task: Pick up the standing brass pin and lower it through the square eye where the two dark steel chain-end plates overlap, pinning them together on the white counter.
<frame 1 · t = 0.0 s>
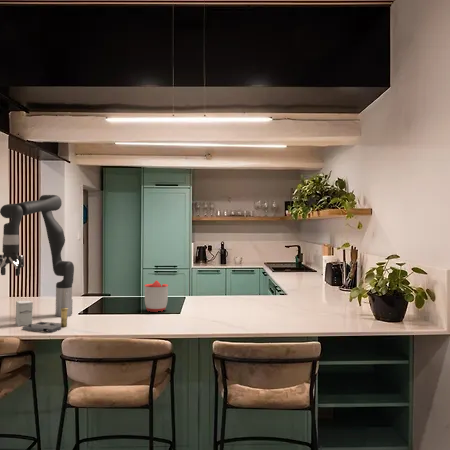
hand: (10, 275, 213), 29 cm above the countertop, fingers open, 8 cm apart
citrus juicer: (156, 310, 277), on the countertop
chain end lower: (41, 329, 221), on the countertop
supplement box: (23, 324, 232), on the countertop
chain end upper: (41, 329, 221), on the countertop
pin: (63, 326, 228), on the countertop
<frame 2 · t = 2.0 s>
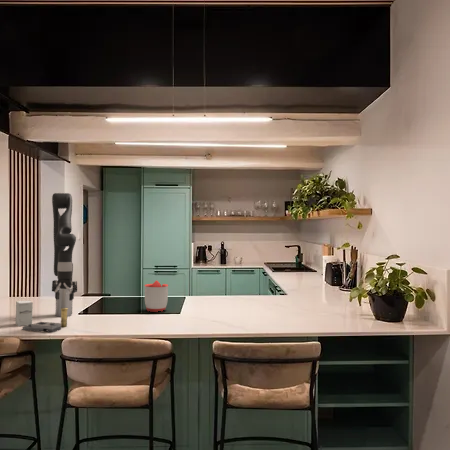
hand: (64, 299, 228), 15 cm above the countertop, fingers open, 8 cm apart
nothing on the countertop moved.
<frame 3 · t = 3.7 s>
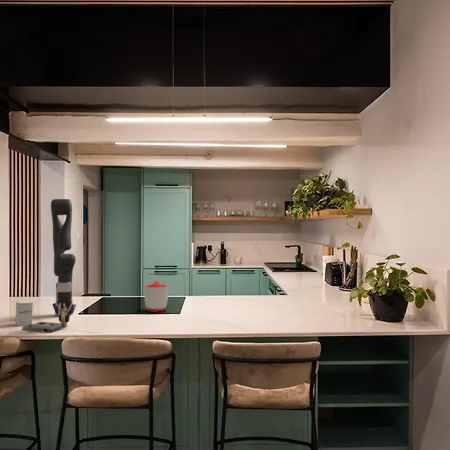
hand: (63, 321, 228), 3 cm above the countertop, fingers closed on pin, 3 cm apart
pin: (63, 326, 228), on the countertop, touching gripper
everything else where it was.
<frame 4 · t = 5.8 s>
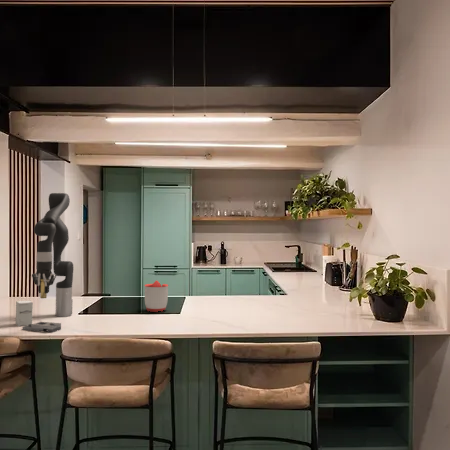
hand: (43, 292, 221), 19 cm above the countertop, fingers closed on pin, 3 cm apart
pin: (43, 298, 221), point 17 cm above the countertop, touching gripper
everything else where it was.
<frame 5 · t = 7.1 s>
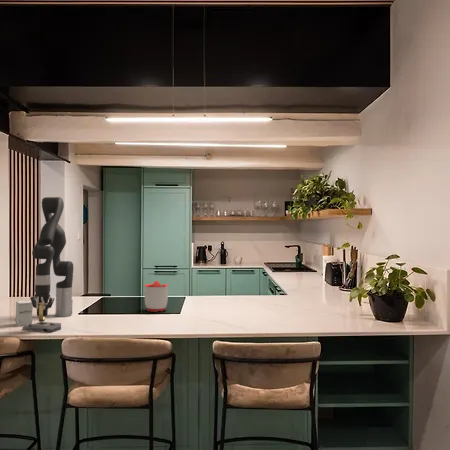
hand: (42, 316, 221), 7 cm above the countertop, fingers closed on pin, 3 cm apart
pin: (41, 321, 221), point 4 cm above the countertop, touching gripper
everything else where it was.
when the fingers open (4 cm above the countertop, at t = 8.0 s): pin drops 1 cm, on the countertop.
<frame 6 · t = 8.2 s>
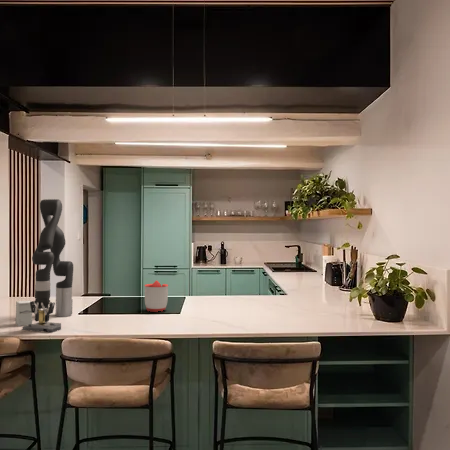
hand: (41, 321, 221), 4 cm above the countertop, fingers open, 5 cm apart
pin: (41, 329, 221), on the countertop
everything else where it was.
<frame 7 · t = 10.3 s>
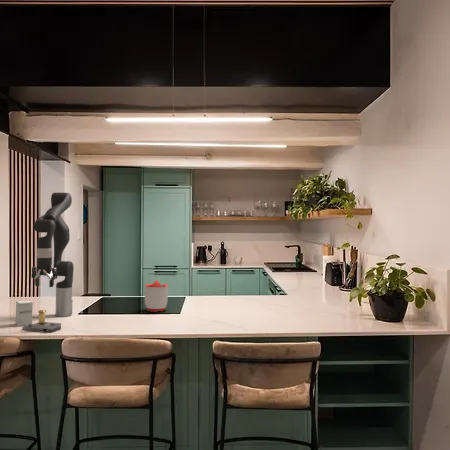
hand: (44, 286, 226), 22 cm above the countertop, fingers open, 8 cm apart
nothing on the countertop moved.
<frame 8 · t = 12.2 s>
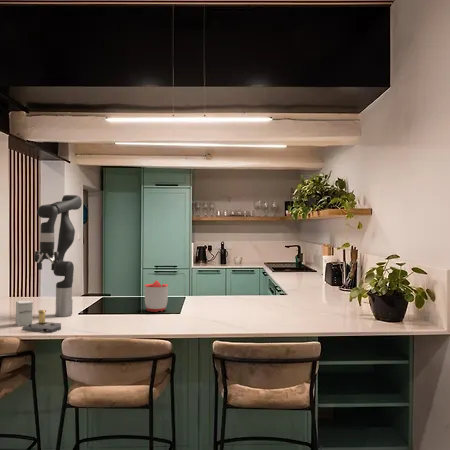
hand: (46, 269, 235), 30 cm above the countertop, fingers open, 8 cm apart
nothing on the countertop moved.
at the end: pin 0.0 cm off-centre on the chain end lower, point 0.0 cm above the chain end lower's base; pin tilted 0°; the gripper is holding nothing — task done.
